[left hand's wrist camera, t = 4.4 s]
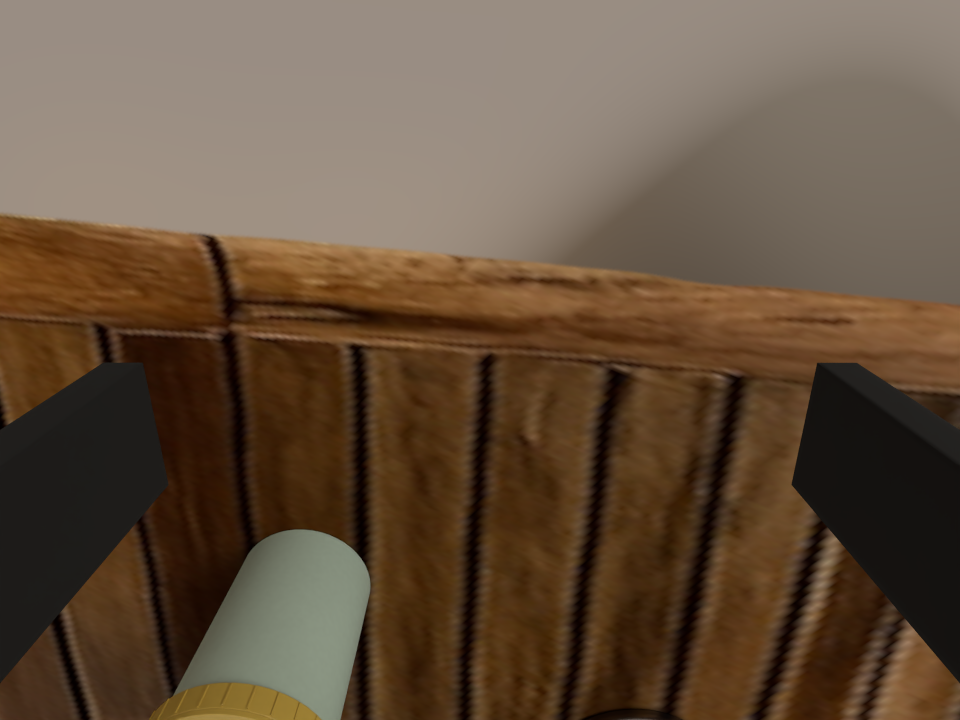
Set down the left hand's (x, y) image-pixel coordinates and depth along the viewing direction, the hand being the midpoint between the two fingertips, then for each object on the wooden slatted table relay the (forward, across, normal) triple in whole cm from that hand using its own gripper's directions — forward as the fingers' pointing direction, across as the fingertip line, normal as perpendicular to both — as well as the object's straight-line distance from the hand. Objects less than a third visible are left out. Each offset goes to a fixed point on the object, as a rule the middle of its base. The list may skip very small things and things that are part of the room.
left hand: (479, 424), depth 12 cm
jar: (+28, +14, +28) cm, 42 cm away
